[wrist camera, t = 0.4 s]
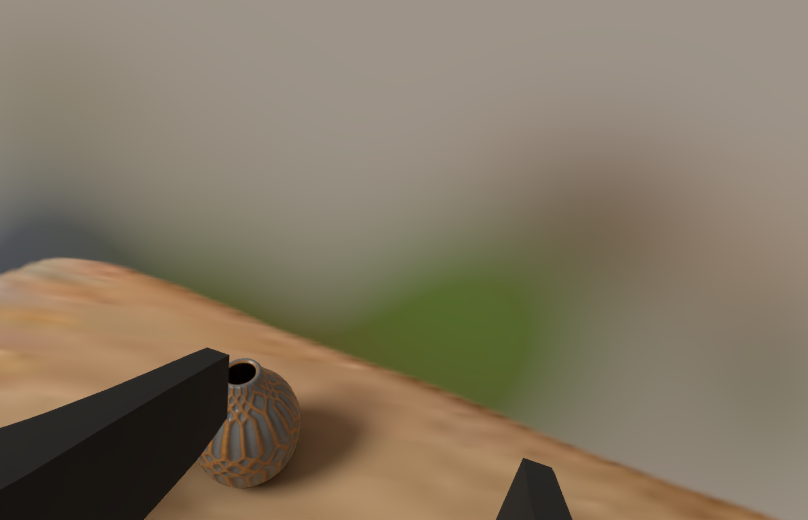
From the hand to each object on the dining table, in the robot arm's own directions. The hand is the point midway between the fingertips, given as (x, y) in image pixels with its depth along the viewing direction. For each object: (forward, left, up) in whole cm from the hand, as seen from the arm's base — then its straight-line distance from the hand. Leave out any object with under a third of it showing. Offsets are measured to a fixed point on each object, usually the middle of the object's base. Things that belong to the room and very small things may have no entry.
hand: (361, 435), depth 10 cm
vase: (+10, +11, -21) cm, 25 cm away
